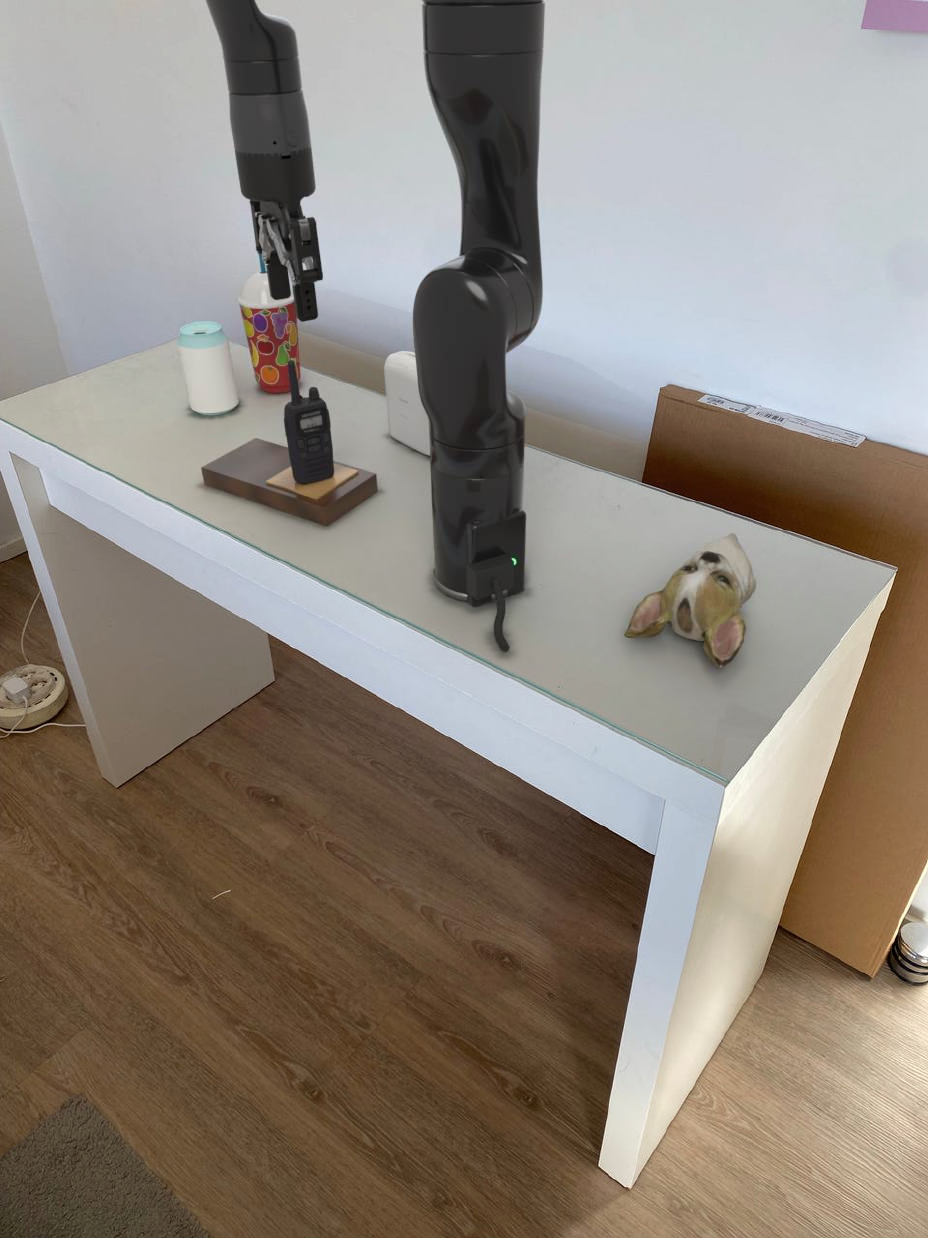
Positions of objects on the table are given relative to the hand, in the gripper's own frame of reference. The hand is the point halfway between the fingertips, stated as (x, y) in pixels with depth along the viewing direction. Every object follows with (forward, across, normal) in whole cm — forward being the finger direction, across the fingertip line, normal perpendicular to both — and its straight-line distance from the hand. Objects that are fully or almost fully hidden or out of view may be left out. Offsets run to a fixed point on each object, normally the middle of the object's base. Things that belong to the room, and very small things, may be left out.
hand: (294, 308), depth 99 cm
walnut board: (+23, -4, -2) cm, 23 cm away
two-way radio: (+20, 0, 0) cm, 20 cm away
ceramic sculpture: (+24, +44, +23) cm, 55 cm away
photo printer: (+23, -7, +17) cm, 30 cm away
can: (+23, -33, -4) cm, 40 cm away
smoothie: (+23, -36, +7) cm, 43 cm away
